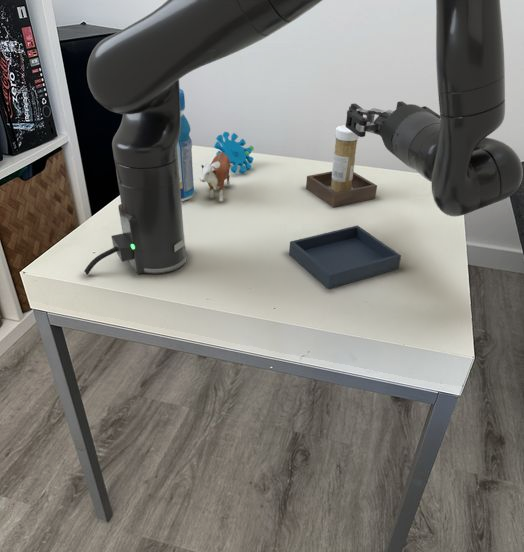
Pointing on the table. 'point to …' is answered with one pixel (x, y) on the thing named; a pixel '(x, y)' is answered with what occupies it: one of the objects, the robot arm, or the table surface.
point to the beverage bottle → (185, 155)
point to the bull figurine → (217, 174)
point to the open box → (335, 199)
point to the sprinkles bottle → (343, 159)
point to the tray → (344, 256)
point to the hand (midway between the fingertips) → (375, 108)
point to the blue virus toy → (235, 152)
